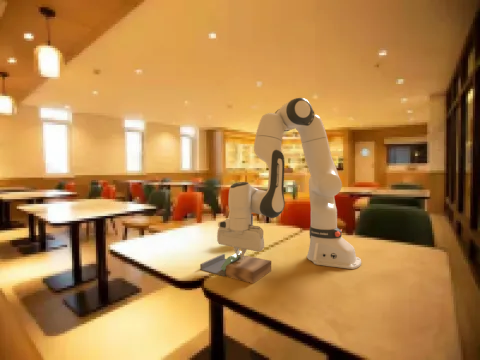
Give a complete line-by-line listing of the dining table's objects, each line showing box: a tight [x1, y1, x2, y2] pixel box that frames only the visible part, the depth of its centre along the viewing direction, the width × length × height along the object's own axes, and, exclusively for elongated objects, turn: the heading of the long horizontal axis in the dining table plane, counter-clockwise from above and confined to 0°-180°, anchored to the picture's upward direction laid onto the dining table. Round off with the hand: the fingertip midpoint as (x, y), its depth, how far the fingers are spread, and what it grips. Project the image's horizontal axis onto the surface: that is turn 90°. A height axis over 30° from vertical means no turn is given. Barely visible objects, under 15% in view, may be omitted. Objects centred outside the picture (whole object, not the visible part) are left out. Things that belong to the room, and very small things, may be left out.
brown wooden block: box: [226, 255, 272, 284], centre depth 107 cm, size 12×14×4 cm
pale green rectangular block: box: [221, 250, 242, 271], centre depth 111 cm, size 6×9×2 cm
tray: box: [199, 253, 227, 277], centre depth 114 cm, size 12×15×2 cm
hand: (240, 258), depth 109 cm, fingers closed
